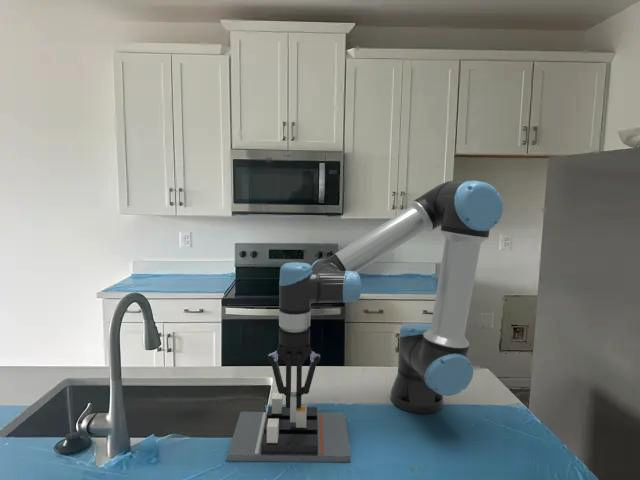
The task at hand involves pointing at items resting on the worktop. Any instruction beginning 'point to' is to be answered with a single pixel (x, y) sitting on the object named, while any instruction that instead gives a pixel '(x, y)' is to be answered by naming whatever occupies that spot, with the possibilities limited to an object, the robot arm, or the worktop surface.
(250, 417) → the panel
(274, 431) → the handle
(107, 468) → the worktop surface
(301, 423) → the handle
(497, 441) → the worktop surface
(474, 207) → the robot arm
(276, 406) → the handle
